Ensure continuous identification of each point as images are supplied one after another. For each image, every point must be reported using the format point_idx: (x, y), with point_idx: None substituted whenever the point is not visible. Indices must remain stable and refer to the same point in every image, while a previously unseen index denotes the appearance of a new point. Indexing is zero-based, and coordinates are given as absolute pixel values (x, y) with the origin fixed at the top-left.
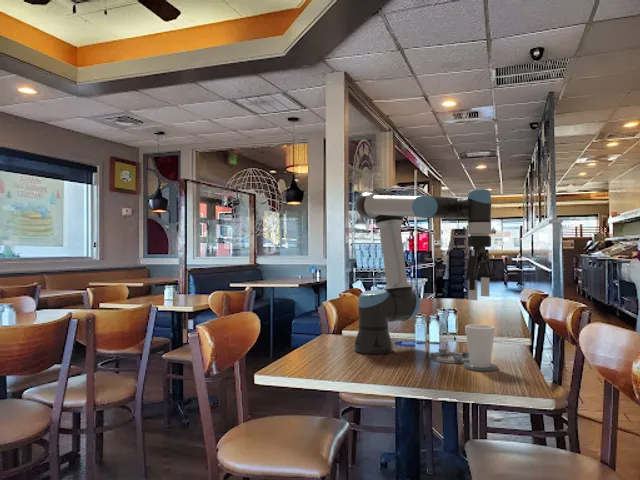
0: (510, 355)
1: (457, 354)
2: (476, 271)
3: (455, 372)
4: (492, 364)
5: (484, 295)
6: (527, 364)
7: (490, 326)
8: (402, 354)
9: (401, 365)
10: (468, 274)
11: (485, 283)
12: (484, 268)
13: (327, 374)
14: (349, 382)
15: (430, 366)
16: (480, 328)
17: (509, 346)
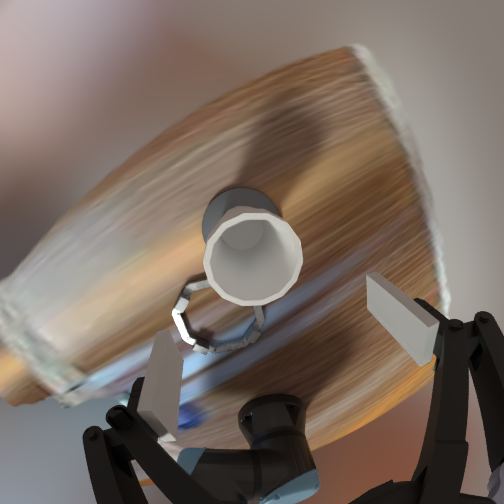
0: (81, 247)
1: (183, 321)
2: (467, 363)
3: (318, 238)
4: (212, 212)
5: (176, 349)
6: (126, 171)
7: (213, 244)
8: (260, 380)
9: (335, 331)
10: (476, 356)
11: (166, 393)
12: (195, 481)
13: None
14: (442, 299)
15: (308, 298)
16: (216, 276)
17: (28, 293)
